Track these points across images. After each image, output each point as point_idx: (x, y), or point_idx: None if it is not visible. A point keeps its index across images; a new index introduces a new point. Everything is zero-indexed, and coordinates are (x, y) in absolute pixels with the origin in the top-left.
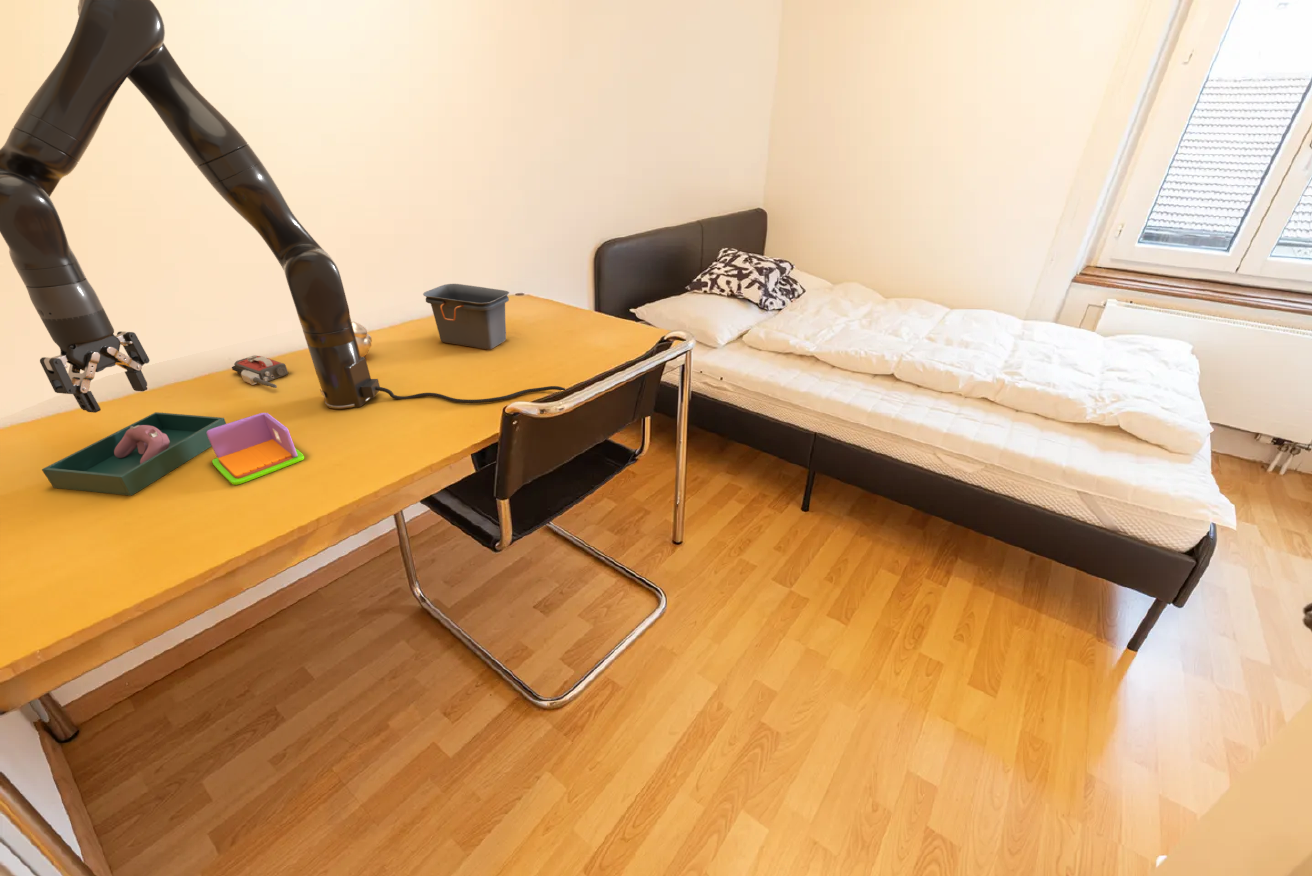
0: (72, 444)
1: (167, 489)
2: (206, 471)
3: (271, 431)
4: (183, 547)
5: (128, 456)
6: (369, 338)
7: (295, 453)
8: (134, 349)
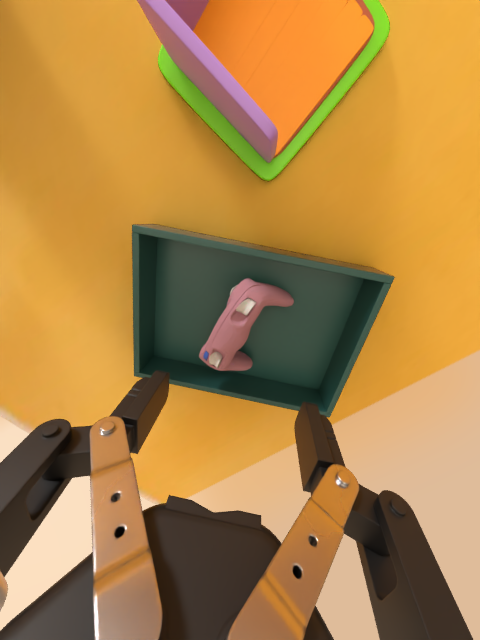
0: (204, 436)
1: (364, 213)
2: (302, 174)
3: (181, 4)
4: None
5: (242, 351)
6: None
7: None
8: (9, 514)
